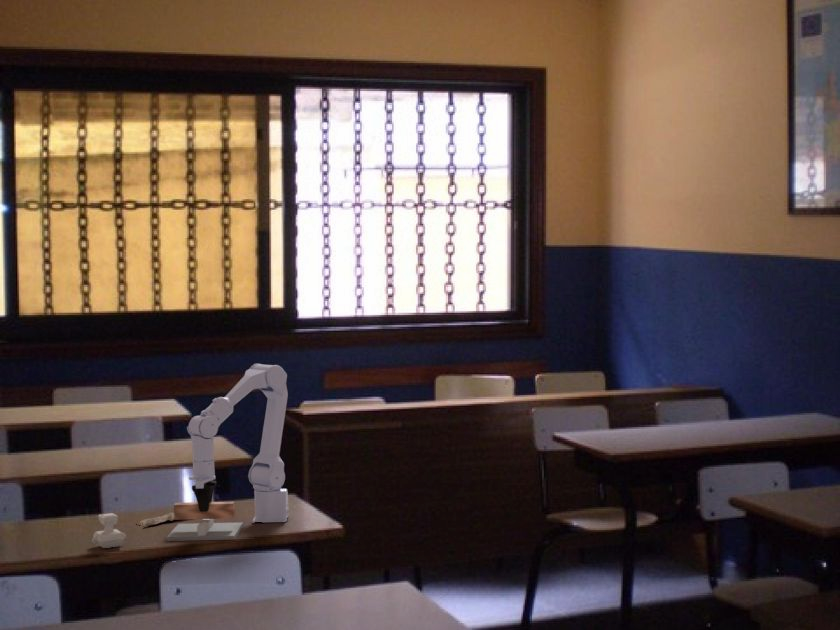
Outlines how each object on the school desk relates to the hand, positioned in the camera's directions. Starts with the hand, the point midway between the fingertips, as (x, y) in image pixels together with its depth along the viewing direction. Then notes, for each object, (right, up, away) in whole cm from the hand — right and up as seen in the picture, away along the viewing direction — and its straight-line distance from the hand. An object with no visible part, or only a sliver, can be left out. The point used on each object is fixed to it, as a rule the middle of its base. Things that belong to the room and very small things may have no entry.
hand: (205, 510), depth 346 cm
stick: (0, -2, 0) cm, 2 cm away
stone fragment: (-13, -7, +18) cm, 23 cm away
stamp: (-23, -8, -12) cm, 27 cm away
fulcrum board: (0, -6, 0) cm, 6 cm away
